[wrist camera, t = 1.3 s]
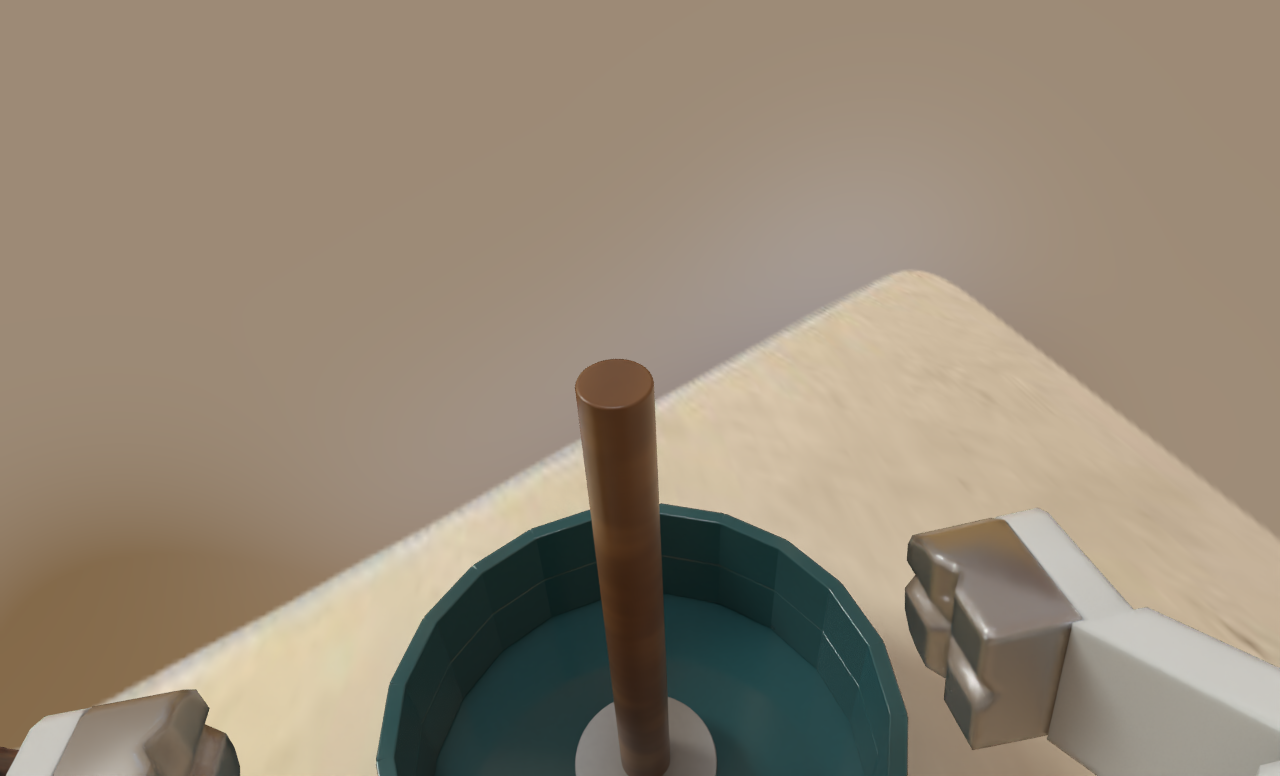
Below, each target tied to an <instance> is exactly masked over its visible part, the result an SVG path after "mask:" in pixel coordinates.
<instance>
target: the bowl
mask: <svg viewBox="0 0 1280 776" xmlns="http://www.w3.org/2000/svg"><path fill="white" fill-rule="evenodd" d="M659 511H660V534H661V556H662V579H663V602H664V624H665V647H666V670H667V692H668V697H670V698H673V699H676V700H678V701H680V702H682V703H683V704H685V705H686V706H688V707H689V708H691V709H692V710H693V711H694V712H695V713H696V714H697V715H698V716H699V717H700V718H701V719H702V720H703V722H704V723H705V725H706V726H707V728H708V729H709V731H710V733H711V735H712V738H713V741H714V744H715V748H716V753H717V776H907V775H908V716H907V711H906V708H905V705H904V702H903V699H902V696H901V693H900V689H899V686H898V683H897V680H896V677H895V674H894V671H893V668H892V665H891V662H890V659H889V656H888V653H887V650H886V647H885V644H884V643H883V640H882V638H881V637H880V636H879V634H878V633H877V631H876V630H875V629H874V627H873V626H872V624H871V623H870V622H869V620H868V619H867V618H866V616H865V615H864V613H863V612H862V611H861V609H860V608H859V606H858V605H857V604H856V602H855V601H854V599H853V598H852V597H851V595H850V594H849V592H848V591H847V590H846V588H845V587H844V586H843V584H842V583H841V582H840V581H839V580H837V579H836V578H835V577H834V576H832V575H831V574H830V573H828V572H827V571H826V570H825V569H823V568H822V567H821V566H820V565H818V564H817V563H816V562H814V561H813V560H812V559H811V558H809V557H808V556H807V555H806V554H804V553H803V552H802V551H800V550H799V549H798V548H797V547H795V546H794V545H793V544H792V543H790V542H789V541H786V539H783V538H781V537H779V536H776V535H774V534H772V533H769V532H767V531H765V530H762V529H760V528H758V527H755V526H753V525H751V524H748V523H746V522H744V521H741V520H739V519H737V518H734V517H732V516H730V515H727V514H724V513H718V512H712V511H706V510H699V509H693V508H687V507H680V506H674V505H668V504H662V503H661V504H659ZM613 702H614V698H613V690H612V682H611V674H610V666H609V658H608V649H607V641H606V633H605V625H604V617H603V609H602V601H601V593H600V585H599V577H598V569H597V561H596V553H595V545H594V536H593V528H592V520H591V512H590V510H587V511H584V512H581V513H578V514H575V515H572V516H569V517H566V518H563V519H560V520H557V521H554V522H551V523H548V524H545V525H542V526H538V527H535V528H532V529H531V530H528V531H527V532H525V533H524V534H522V535H520V536H519V537H517V538H516V539H514V540H512V541H511V542H509V543H508V544H506V545H504V546H503V547H501V548H500V549H498V550H496V551H495V552H493V553H492V554H490V555H489V556H487V557H485V558H484V559H482V560H481V561H479V562H477V563H476V564H474V565H473V567H471V568H470V569H469V570H468V571H467V572H466V573H465V574H464V575H463V576H462V577H461V578H460V579H459V580H458V581H457V582H456V583H455V585H454V586H453V587H452V588H451V589H450V590H449V591H448V592H447V593H446V594H445V595H444V596H443V597H442V598H441V599H440V601H439V602H438V603H437V604H436V605H435V606H434V607H433V608H432V609H431V610H430V611H429V612H428V613H427V614H426V615H425V617H424V618H423V620H422V621H421V623H420V625H419V627H418V629H417V631H416V633H415V635H414V637H413V639H412V641H411V643H410V645H409V647H408V649H407V651H406V652H405V654H404V656H403V658H402V660H401V662H400V664H399V666H398V668H397V670H396V672H395V674H394V676H393V678H392V680H391V682H390V685H389V688H388V694H387V700H386V705H385V711H384V717H383V722H382V728H381V734H380V740H379V745H378V751H377V757H376V768H377V774H378V776H576V772H575V757H576V751H577V747H578V744H579V741H580V738H581V736H582V734H583V732H584V730H585V728H586V727H587V725H588V724H589V722H590V721H591V720H592V719H593V718H594V716H595V715H596V714H598V713H599V712H600V711H601V710H602V709H603V708H605V707H606V706H607V705H609V704H611V703H613Z"/></svg>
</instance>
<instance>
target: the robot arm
mask: <svg viewBox="0 0 1280 776" xmlns="http://www.w3.org/2000/svg"><path fill="white" fill-rule="evenodd" d="M907 561H908V563H909V565H910V566H911V568H912V570H913V571H914V573H915V576H914V578H913V579H912V580H911V581H910V582H909V584H908V585H907V586H906V587H905V611H906V616H907V621H908V626H909V631H910V633H911V636H912V638H913V641H914V644H915V646H916V649H917V651H918V652H919V654H920V656H921V658H922V660H923V662H924V664H925V666H926V667H927V668H929V669H931V670H932V671H934V672H936V673H937V674H939V675H941V676H942V677H944V678H946V683H945V694H944V700H945V702H946V704H947V706H948V707H949V709H950V711H951V713H952V715H953V716H954V718H955V720H956V722H957V723H958V725H959V727H960V729H961V731H962V732H963V734H964V736H965V738H966V739H967V741H968V743H969V745H970V747H971V748H972V750H975V749H980V748H986V747H991V746H996V745H1001V744H1006V743H1011V742H1016V741H1021V740H1026V739H1031V738H1036V737H1041V736H1046V735H1048V737H1047V740H1049V741H1050V742H1051V743H1053V744H1054V745H1055V746H1057V747H1058V748H1060V749H1061V750H1062V751H1064V752H1065V753H1066V754H1068V755H1069V756H1071V757H1072V758H1073V759H1075V760H1076V761H1077V762H1079V763H1080V764H1082V765H1083V766H1084V767H1086V768H1087V769H1088V770H1090V771H1091V772H1093V773H1094V774H1095V775H1097V776H1280V668H1279V667H1277V666H1274V665H1272V664H1270V663H1268V662H1266V661H1264V660H1261V659H1259V658H1257V657H1255V656H1253V655H1250V654H1248V653H1246V652H1244V651H1242V650H1240V649H1237V648H1235V647H1233V646H1231V645H1229V644H1226V643H1224V642H1222V641H1220V640H1218V639H1216V638H1213V637H1211V636H1209V635H1207V634H1205V633H1203V632H1200V631H1198V630H1196V629H1194V628H1192V627H1189V626H1187V625H1185V624H1183V623H1181V622H1179V621H1176V620H1174V619H1172V618H1170V617H1168V616H1165V615H1163V614H1161V613H1159V612H1157V611H1155V610H1152V609H1150V608H1148V607H1144V608H1139V609H1133V608H1132V607H1131V606H1130V605H1129V603H1128V602H1127V601H1126V600H1125V599H1124V598H1123V597H1122V596H1121V594H1120V593H1119V592H1118V591H1117V590H1116V589H1115V588H1114V587H1113V585H1112V584H1111V583H1110V582H1109V581H1108V580H1107V579H1106V577H1105V576H1104V575H1103V574H1102V573H1101V572H1100V571H1099V570H1098V568H1097V567H1096V566H1095V565H1094V564H1093V563H1092V562H1091V561H1090V559H1089V558H1088V557H1087V556H1086V555H1085V554H1084V553H1083V551H1082V550H1081V549H1080V548H1079V547H1078V546H1077V545H1076V544H1075V542H1074V541H1073V540H1072V539H1071V538H1070V537H1069V536H1068V535H1067V533H1066V532H1065V531H1064V530H1063V529H1062V528H1061V527H1060V525H1059V524H1058V523H1057V522H1056V521H1055V520H1054V519H1053V518H1052V516H1051V515H1050V514H1049V513H1048V512H1046V511H1044V510H1042V509H1040V508H1034V509H1030V510H1025V511H1021V512H1016V513H1012V514H1007V515H1002V516H998V517H996V518H988V519H983V520H979V521H974V522H970V523H965V524H961V525H956V526H952V527H947V528H943V529H938V530H934V531H929V532H925V533H920V534H916V535H912V537H911V539H910V541H909V543H908V552H907ZM209 709H210V708H209V707H208V705H207V704H206V703H205V701H204V700H203V699H202V697H201V696H200V695H199V693H198V692H197V690H180V691H174V692H169V693H163V694H158V695H153V696H147V697H142V698H137V699H131V700H126V701H120V702H115V703H110V704H104V705H99V706H93V707H92V708H87V709H82V710H76V711H71V712H66V713H60V714H55V715H49V716H45V717H44V718H43V719H42V720H40V721H39V722H38V723H37V724H36V725H35V726H33V727H32V728H31V729H30V731H29V733H28V735H27V737H26V738H25V740H24V742H23V744H22V746H21V748H20V750H19V751H18V753H17V755H16V757H15V759H14V761H13V763H12V765H11V767H10V768H9V770H8V772H7V774H6V776H240V765H239V761H238V758H237V755H236V751H235V748H234V746H233V744H232V743H231V741H230V739H229V738H228V736H227V735H226V733H224V732H221V731H219V730H217V729H215V728H212V727H210V726H208V725H205V721H206V718H207V715H208V712H209Z"/></svg>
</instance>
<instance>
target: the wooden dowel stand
mask: <svg viewBox="0 0 1280 776" xmlns="http://www.w3.org/2000/svg"><path fill="white" fill-rule="evenodd" d="M575 391H576V399H577V407H578V415H579V423H580V431H581V440H582V448H583V456H584V464H585V472H586V480H587V488H588V496H589V504H590V512H591V520H592V528H593V536H594V545H595V553H596V561H597V569H598V577H599V585H600V593H601V601H602V609H603V617H604V625H605V633H606V641H607V649H608V658H609V666H610V674H611V682H612V690H613V698H614V702H613V703H611V704H609V705H607V706H606V707H605V708H603V709H602V710H601V711H600V712H599V713H598V714H596V715H595V716H594V718H593V719H592V720H591V721H590V722H589V724H588V725H587V727H586V728H585V730H584V732H583V734H582V736H581V738H580V741H579V744H578V747H577V751H576V757H575V772H576V776H717V753H716V748H715V744H714V741H713V738H712V735H711V733H710V731H709V729H708V728H707V726H706V725H705V723H704V722H703V720H702V719H701V718H700V717H699V716H698V715H697V714H696V713H695V712H694V711H693V710H692V709H691V708H689V707H688V706H686V705H685V704H683V703H682V702H680V701H678V700H676V699H673V698H670V697H668V692H667V670H666V647H665V624H664V602H663V579H662V556H661V534H660V511H659V489H658V466H657V443H656V421H655V398H654V381H653V378H652V375H651V374H650V372H649V371H648V370H647V369H646V368H645V367H643V366H642V365H640V364H638V363H636V362H634V361H630V360H624V359H610V360H605V361H600V362H597V363H595V364H593V365H591V366H589V367H587V368H586V369H585V370H584V371H583V372H582V373H581V374H580V375H579V377H578V379H577V381H576V385H575Z"/></svg>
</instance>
